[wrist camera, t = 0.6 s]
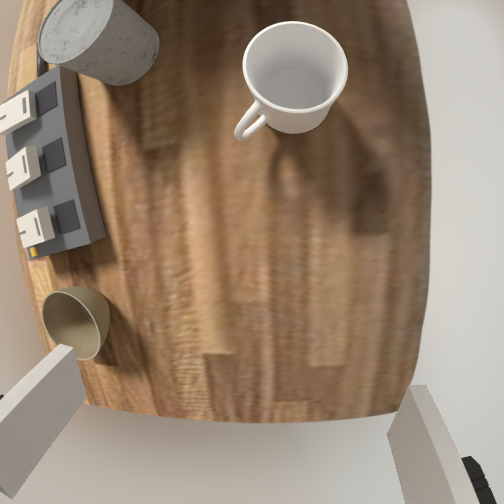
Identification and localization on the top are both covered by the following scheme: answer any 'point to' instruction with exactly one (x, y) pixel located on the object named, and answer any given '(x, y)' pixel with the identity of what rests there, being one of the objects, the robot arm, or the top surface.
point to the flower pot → (77, 319)
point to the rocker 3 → (35, 227)
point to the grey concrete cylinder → (99, 40)
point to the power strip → (58, 163)
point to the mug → (291, 78)
